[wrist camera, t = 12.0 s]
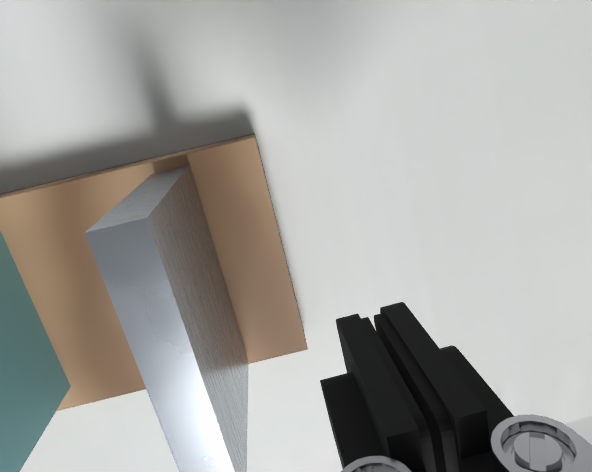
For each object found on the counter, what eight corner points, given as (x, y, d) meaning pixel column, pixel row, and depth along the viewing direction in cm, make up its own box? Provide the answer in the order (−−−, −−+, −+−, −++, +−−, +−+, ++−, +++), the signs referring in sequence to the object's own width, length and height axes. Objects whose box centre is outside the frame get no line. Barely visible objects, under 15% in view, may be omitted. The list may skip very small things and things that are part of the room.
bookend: (189, 164, 18) (146, 217, 11) (248, 359, 21) (245, 504, 14) (152, 173, 18) (84, 233, 11) (216, 367, 21) (197, 516, 14)
